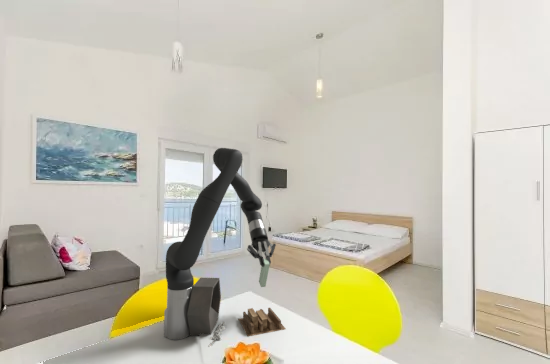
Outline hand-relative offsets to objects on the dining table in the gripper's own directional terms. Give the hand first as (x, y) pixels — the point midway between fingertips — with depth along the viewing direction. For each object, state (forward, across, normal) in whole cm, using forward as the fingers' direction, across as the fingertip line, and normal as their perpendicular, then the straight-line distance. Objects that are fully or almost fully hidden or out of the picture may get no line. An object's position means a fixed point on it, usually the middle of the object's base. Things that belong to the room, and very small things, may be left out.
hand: (266, 265), depth 111 cm
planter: (+15, -24, +16) cm, 33 cm away
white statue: (+22, -22, +10) cm, 32 cm away
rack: (+19, -4, +12) cm, 23 cm away
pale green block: (+3, 0, +10) cm, 10 cm away
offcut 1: (+19, -7, +11) cm, 23 cm away
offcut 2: (+19, -4, +11) cm, 22 cm away
